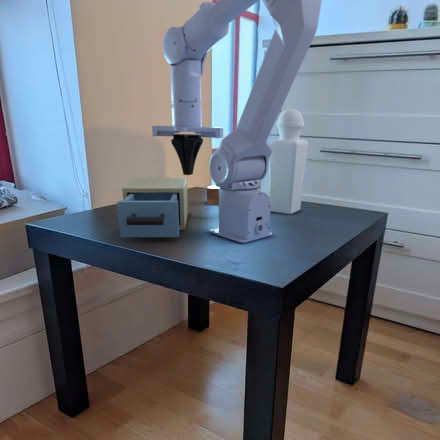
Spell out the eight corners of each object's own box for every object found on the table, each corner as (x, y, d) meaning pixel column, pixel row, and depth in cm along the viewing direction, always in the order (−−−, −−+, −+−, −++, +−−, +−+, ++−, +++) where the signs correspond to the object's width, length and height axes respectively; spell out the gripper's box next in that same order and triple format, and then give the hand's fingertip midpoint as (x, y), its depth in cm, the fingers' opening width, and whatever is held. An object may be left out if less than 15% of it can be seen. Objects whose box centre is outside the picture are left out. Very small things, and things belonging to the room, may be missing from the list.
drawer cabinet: (184, 230, 82) (183, 188, 79) (125, 230, 82) (121, 188, 79) (187, 213, 95) (186, 177, 91) (136, 214, 94) (133, 177, 91)
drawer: (177, 244, 70) (175, 207, 68) (115, 245, 70) (111, 207, 67) (182, 220, 86) (181, 189, 83) (131, 220, 86) (129, 189, 83)
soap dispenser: (265, 211, 97) (270, 108, 88) (278, 206, 102) (284, 108, 93) (291, 215, 94) (299, 108, 85) (303, 209, 99) (311, 108, 90)
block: (222, 201, 107) (222, 185, 106) (222, 204, 104) (223, 188, 102) (206, 201, 107) (206, 185, 106) (206, 204, 104) (206, 188, 102)
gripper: (143, 101, 79) (147, 175, 85) (215, 102, 75) (215, 179, 81) (159, 102, 85) (162, 170, 91) (226, 102, 81) (226, 174, 87)
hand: (188, 174), depth 86 cm, fingers closed
